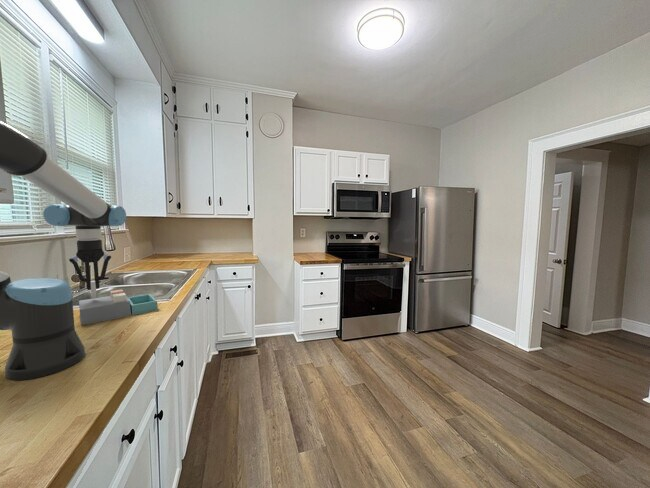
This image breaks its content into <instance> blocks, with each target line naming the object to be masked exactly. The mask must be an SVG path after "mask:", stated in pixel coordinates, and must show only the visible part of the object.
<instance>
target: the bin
mask: <svg viewBox="0 0 650 488" xmlns="http://www.w3.org/2000/svg"><path fill="white" fill-rule="evenodd" d="M127 298H128V299H129V301H130V309H131V316H135V315H139V314H144V313H149V312H150V313H151V312H154V311H158V300H157V299H156V298H155V297H154V296H153V295H152V294H151V293H147V294H141V295H135V296H134V295H133V296H129V297H128V296H127Z"/></svg>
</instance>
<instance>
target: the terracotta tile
mask: <svg viewBox="0 0 650 488" xmlns="http://www.w3.org/2000/svg"><path fill="white" fill-rule="evenodd" d="M120 293H124V290H123V288H121V289H115V290H110V296H111V298H112V299H113V297H112V295H113V294H120Z"/></svg>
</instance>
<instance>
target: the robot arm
mask: <svg viewBox="0 0 650 488" xmlns="http://www.w3.org/2000/svg"><path fill="white" fill-rule="evenodd" d="M48 156H49V155H48V153H47V151H46V150H45V148H43V147H42V146H41V145H39V144H38V143H37V142H35V141H34V140H32V139H31V138H30V137H29V136H27V135H26V134H24V133H22V132H20V131H19V130H17V129H16V128H14V127H12V126H11V125H10V124H6V123H4V122H3V121H1V120H0V170H2V171H3V172H5V173H7V174H9V175H12V176H15V177H22V178H24V180H27V181H28V182H30V183H32V184H33V185H35V186H37V187H38V188H40V190H43V192H46V193H47V194H49V195H50V196H53V198H55V199H57V200H59V201H60V202H61V203H57V204H56V203H55V204H50V205H48V206H46V207H45V208H44V210H43V212H42V216H43V219H44V220H45V221H46V223H47V224H49V225H51V226H53V227H66V226H67V227H70V226H72V227H74V226H75V237H76V238H75V239H76V240H77V241H76V249H77V251H76V254H75V255H74V256H72V257H70V258H68V261H69V262H70V264H72V265H73V267H74V270H75V271H76V274H77V276H78V278H79V281H80V282H85V283H86V290H88V291H90V297H91V299H93V298H98V297H97V289H100V281H101V280H104V279H105V278H106V273H107V269H108V265H109V261H110V260H111V258H112V256H111V255H110V254H107V253H105V251H104V249H103V241H102V228H101V227H120V226H123V225H124V224H125V223H126V220H127V212H126V209H125V208H124V207H123V206H121V205H115V204H112V205H111V204H109V203H108V202H106V201H105V200H104V199H102V198H101V197H100V196H99V195H97V194H96V193H94V192H93V191H92V190H91V189H89V187H87V186H86V185H85V184H83V183H82V182H80V181H79V180H78V179H77V178H75V177H74V176H72V175H71V174H70V173H69V172H68V171H66V170H65V169H63V168H62V167H61V166H60V165H59V164H57V163H56V162H55V161H53V160H52V159H50V158H49V157H48ZM62 203H63V204H62ZM102 257H103V263H102V268H101V270H100V271H101V272H100V275H99V265H98V264H99V262H100V260H101V259H102ZM78 259H79V260H80V261H81V262H83V263H84V268H85V269H84V270H85V277H84V275H83V273H82V270H81V269H80V266H79V264H78ZM90 263H93V265H92V266H93V276H94V280H91V271H90V270H91V269H90ZM73 297H74V296H73V292H72V287H71V284H70V283H69V282H68V281H66V280H64V279H60V278H52V277H51V278H50V277H40V278H33V277H32V278H25V279H19V280H15V281H12V279H11V277H10V274H9V273H8V272H5V271H1V270H0V331H11V337H12V347H11V350H10V352H9V355H8V358H7V361H6V362H5V366H4V367H5V368H4V372H5V373H4V374H5V377H6V378H7V379H9V380H13V381H25V380H32V379H38V378H42V377H46V376H49V375H52V374H53V375H54V374H56V373H58V372H61V371H64V370H66V369H68V368H70V367H72V366H74V365H76V364H77V363H79V362H81V361H82V359H84V358H85V357H86V351H85V345H84V344H83V342H82V340H81V339H80V337H79V335H78V333H77V332H76V329H75V327H76V326H75V318H74V317H75V315H74V305H73V303H74V302H73Z"/></svg>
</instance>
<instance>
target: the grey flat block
mask: <svg viewBox="0 0 650 488" xmlns="http://www.w3.org/2000/svg"><path fill="white" fill-rule="evenodd" d="M78 305H79V306H78V307H79V308H78V309H79V316H80V325H81V326H85V325H89V324H95V323H99V322H104V321H110V320H115V319H119V318H120V319H121V318H124V317H129V316H132V314H131V309H130V301H129V299H128V296H127V295H126V301H122V302H117V303H114V302H113V299H112V298H111V295H107V296H101V297H96V298H88V299H81V300H78Z"/></svg>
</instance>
